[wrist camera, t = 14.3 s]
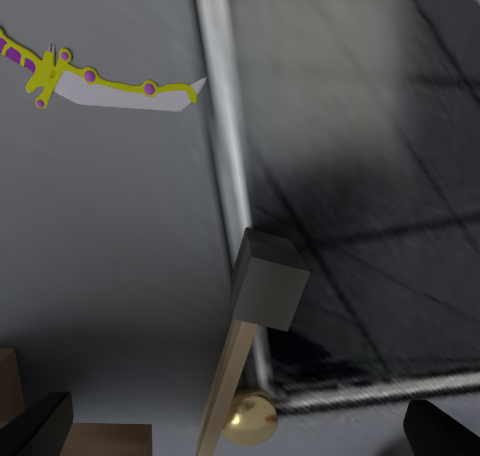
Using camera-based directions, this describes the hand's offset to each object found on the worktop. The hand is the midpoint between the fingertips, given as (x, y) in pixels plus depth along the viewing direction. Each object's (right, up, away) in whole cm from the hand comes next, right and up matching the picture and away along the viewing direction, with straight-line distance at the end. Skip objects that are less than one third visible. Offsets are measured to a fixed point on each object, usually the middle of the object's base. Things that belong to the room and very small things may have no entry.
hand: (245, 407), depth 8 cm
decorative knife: (-8, +13, +9) cm, 18 cm away
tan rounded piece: (0, -10, +15) cm, 18 cm away
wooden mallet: (-1, -3, +13) cm, 14 cm away
